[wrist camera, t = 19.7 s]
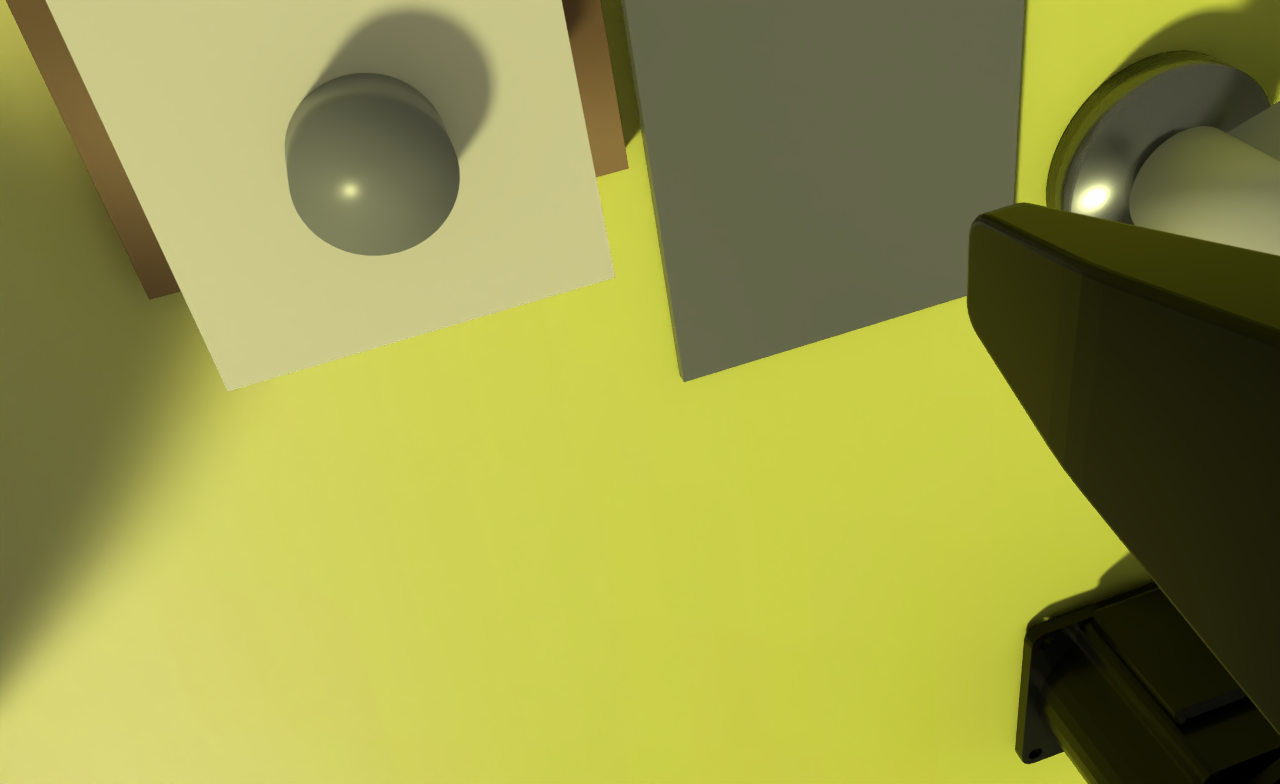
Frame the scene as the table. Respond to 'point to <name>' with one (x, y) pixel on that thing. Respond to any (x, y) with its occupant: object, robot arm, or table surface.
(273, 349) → the beige tall block
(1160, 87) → the clip base
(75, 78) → the walnut pad
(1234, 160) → the bar
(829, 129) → the socket plate
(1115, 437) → the robot arm
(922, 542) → the table surface
